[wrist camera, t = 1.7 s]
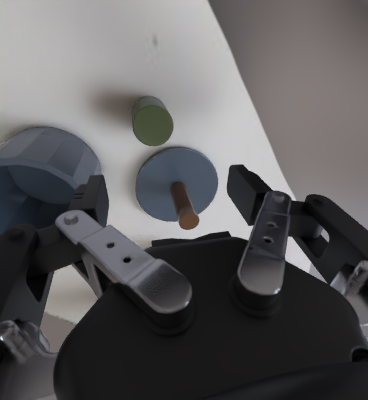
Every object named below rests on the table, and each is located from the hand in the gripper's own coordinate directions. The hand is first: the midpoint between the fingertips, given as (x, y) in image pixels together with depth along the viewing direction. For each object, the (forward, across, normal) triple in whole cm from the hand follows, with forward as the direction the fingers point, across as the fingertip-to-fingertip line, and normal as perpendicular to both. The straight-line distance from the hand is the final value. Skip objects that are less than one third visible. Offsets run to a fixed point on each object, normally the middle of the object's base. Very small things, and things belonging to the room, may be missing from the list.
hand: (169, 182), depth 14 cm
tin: (+18, 0, 0) cm, 18 cm away
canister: (+18, +13, +7) cm, 23 cm away
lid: (+17, -4, +11) cm, 21 cm away
